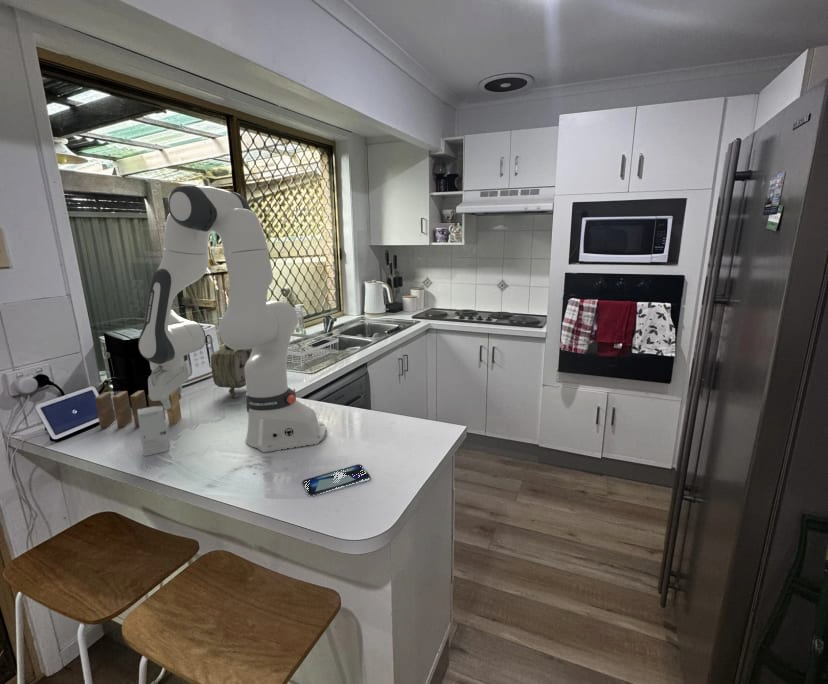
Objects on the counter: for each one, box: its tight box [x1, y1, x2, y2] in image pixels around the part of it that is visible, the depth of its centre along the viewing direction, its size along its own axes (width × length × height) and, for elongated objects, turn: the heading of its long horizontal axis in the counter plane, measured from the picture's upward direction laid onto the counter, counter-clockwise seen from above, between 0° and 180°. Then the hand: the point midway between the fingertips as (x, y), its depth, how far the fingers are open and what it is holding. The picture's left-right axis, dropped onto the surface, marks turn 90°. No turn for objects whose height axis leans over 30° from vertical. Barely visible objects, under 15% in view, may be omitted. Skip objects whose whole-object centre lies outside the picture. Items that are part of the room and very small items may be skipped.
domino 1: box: [94, 391, 117, 429], centre depth 133 cm, size 2×5×10 cm, turn 6°
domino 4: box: [147, 394, 166, 420], centre depth 135 cm, size 2×5×10 cm, turn 7°
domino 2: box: [111, 390, 133, 428], centre depth 134 cm, size 2×5×10 cm, turn 7°
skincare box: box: [137, 405, 169, 457], centre depth 116 cm, size 6×4×12 cm
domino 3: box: [129, 389, 148, 426], centre depth 134 cm, size 2×5×10 cm, turn 7°
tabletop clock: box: [210, 343, 252, 399], centre depth 158 cm, size 14×9×25 cm, turn 170°
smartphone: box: [301, 464, 371, 497], centre depth 102 cm, size 7×1×15 cm
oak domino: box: [166, 389, 183, 426], centre depth 135 cm, size 2×5×10 cm, turn 7°
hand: (173, 403), depth 135 cm, fingers open, 6 cm apart
